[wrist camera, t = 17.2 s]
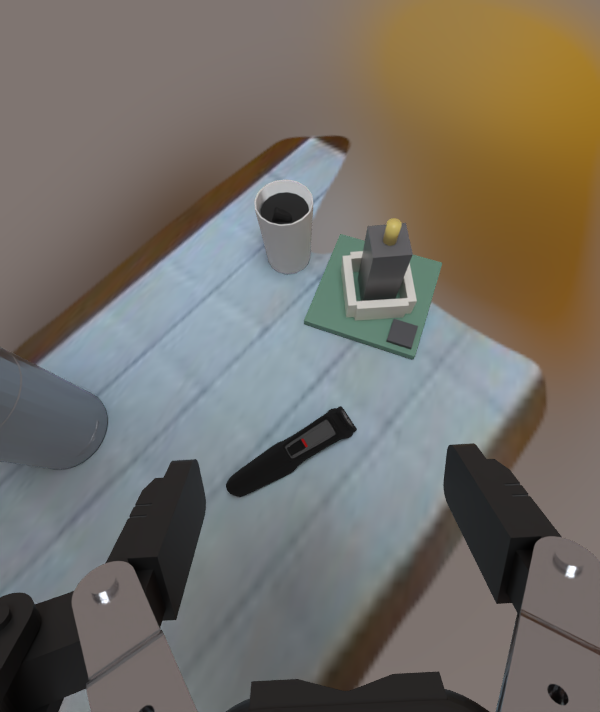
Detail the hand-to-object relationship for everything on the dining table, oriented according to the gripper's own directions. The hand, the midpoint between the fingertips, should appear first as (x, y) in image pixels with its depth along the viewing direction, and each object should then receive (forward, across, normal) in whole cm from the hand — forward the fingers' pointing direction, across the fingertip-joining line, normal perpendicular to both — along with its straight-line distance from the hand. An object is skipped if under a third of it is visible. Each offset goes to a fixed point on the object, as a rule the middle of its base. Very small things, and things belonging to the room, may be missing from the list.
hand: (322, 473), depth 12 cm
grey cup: (+44, +2, 0) cm, 44 cm away
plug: (+38, -9, +4) cm, 39 cm away
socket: (+38, -9, +4) cm, 39 cm away
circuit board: (+39, -9, +5) cm, 40 cm away
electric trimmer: (+25, +2, +19) cm, 32 cm away
